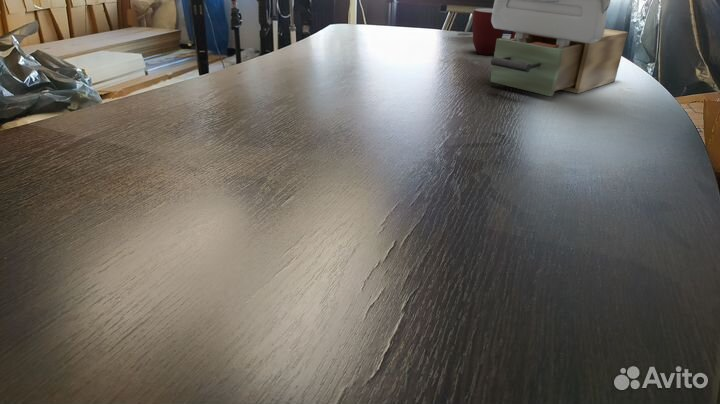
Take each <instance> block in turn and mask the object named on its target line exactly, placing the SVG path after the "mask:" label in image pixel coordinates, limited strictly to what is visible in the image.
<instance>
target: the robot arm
mask: <svg viewBox="0 0 720 404" xmlns="http://www.w3.org/2000/svg"><path fill="white" fill-rule="evenodd" d="M610 5H611V0H494V2H493V7H492V9H493V11H492V18H491V22H492V25H493V27H494V28H495V29H501V30H504V31H509V32H511V31H514V32H515V39H516V41H518V42H524V43H526V40H525V38H528V35H529V34H533V35H539V36H545V37H552V38H557V42H556V45H559V46H558V48H563V47H568V46H569V44H570V40H571V41H577V42H583V43H594V42H597V41H599V40H600V39H601V38H602V37H603V34H604V30H605V29H606V23H607V15H608V9H609V7H610Z"/></svg>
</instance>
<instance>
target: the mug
mask: <svg viewBox="0 0 720 404" xmlns="http://www.w3.org/2000/svg"><path fill="white" fill-rule="evenodd" d="M492 11H493V8H474V9H473V13H472V20H471V21H472V23H471V25H472V26H471V27H472V43H473V46H474V49H475V53H476V54H479V55H484V56H491V55H494V54H495V47H496V40H497V39H500V38H501V39H503V36H504V33H505V30H501V29H495V28H494V27H493V25H492V22H491V18H492ZM515 37H516V32H514V31H510V37H509V39H513V38H515Z"/></svg>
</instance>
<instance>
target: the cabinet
mask: <svg viewBox="0 0 720 404" xmlns="http://www.w3.org/2000/svg"><path fill="white" fill-rule="evenodd" d="M628 33H629V32H628V31H623V30H616V29H609V28H605V30H604V34H603V37H602V38H601V39H600V40H599V41H597V42H594V43H585V47H584V52H583V56H582V60H581V65H580V69H579V73H578V78H577V82H576V85H573V86H570V87H567V88H563V89H560V90H561V91H564V92H569V93H575V94H581V93H583V92H586V91H590V90H593V89H595V88H598V87H602V86H605V85H608V84H611V83H613V82H615V81H616V78H617V74H618V70H619V67H620V63H621V61H622V60H621V59H622V56H623V53H624V48H625V44H626V41H627V36H628ZM531 35H533V34H529V35H528V36H531ZM535 36H539V35H535ZM541 37H545V36H541ZM547 38H552V37H547ZM553 39H557V38H553ZM570 41H571V40H570ZM572 42H577V41H572ZM579 43H583V42H579ZM560 90H559V91H560Z"/></svg>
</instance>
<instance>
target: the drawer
mask: <svg viewBox="0 0 720 404" xmlns="http://www.w3.org/2000/svg"><path fill="white" fill-rule="evenodd" d="M525 40H526V43H524V42H518V41H516V39H515V38H513V39H510V38H508V39H506V38H502V39H501V38H500V39H497V40H496V47H495V52H494V53H493V55H494V56H492V58H491V60H490V64H491V65H492V67H491V74H490V81H489V82H490V83H494V84H498V85H502V86H506V87H510V88H515V89H518V90H522V91H527V92H531V93H535V94H540V95H543V96H547V97H552V96H554V95H555V92H557V91H560V89H563V88H567V87H570V86H573V85H576V82H577V78H578V73H579V69H580V65H581V60H582V56H583V52H584V47H585V43H579V42H572V41H570V44H569V46H568V47H563V48H553V47H547V46H541V45H536V44H530V43H534V42H539V43H545V44H551V45H556V42H557V39H553V38H547V37H541V36H535V35H531V36H528V38H525ZM557 46H559V45H557Z"/></svg>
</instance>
